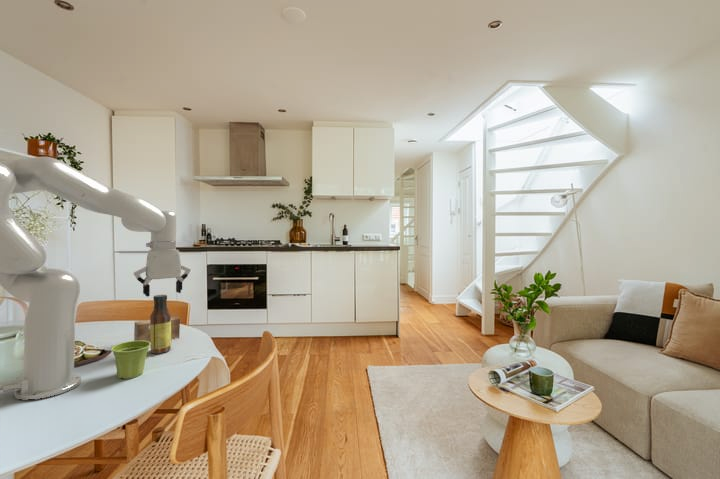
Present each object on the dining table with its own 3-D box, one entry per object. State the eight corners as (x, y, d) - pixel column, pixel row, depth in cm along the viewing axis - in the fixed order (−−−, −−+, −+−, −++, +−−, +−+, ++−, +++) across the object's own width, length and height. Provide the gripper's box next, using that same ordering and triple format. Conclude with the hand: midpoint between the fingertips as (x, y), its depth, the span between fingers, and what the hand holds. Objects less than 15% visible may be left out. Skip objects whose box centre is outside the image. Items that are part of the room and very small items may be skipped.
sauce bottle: (175, 348, 113) (176, 294, 113) (162, 355, 107) (164, 297, 107) (158, 347, 114) (159, 293, 114) (144, 353, 108) (146, 296, 107)
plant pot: (146, 365, 99) (147, 338, 99) (153, 375, 92) (153, 346, 92) (108, 373, 92) (109, 344, 92) (112, 385, 85) (113, 354, 85)
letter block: (137, 346, 114) (137, 325, 114) (134, 342, 118) (134, 321, 118) (179, 338, 124) (180, 318, 124) (175, 335, 128) (176, 316, 128)
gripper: (136, 247, 101) (136, 299, 102) (193, 246, 114) (193, 292, 114) (131, 245, 106) (131, 295, 107) (186, 245, 119) (186, 289, 119)
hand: (163, 294), depth 111 cm, fingers open, 9 cm apart
